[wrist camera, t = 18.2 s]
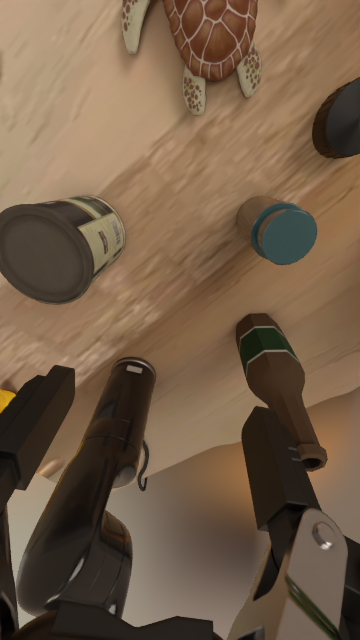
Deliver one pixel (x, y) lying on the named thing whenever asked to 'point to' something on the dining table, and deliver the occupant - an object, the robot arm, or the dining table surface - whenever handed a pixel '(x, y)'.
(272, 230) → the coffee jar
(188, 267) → the dining table surface
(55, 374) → the robot arm
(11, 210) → the coffee can
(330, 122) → the jar lid
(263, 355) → the beer bottle
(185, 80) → the decorative turtle
